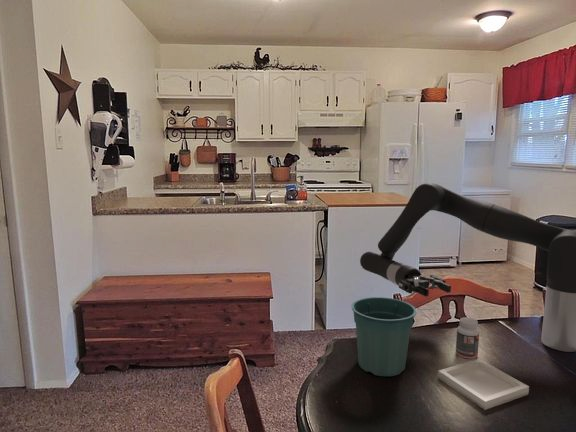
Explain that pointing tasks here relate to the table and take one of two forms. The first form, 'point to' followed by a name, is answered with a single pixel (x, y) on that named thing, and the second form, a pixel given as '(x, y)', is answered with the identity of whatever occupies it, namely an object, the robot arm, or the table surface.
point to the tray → (483, 383)
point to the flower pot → (383, 334)
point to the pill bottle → (467, 338)
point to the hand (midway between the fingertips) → (439, 291)
